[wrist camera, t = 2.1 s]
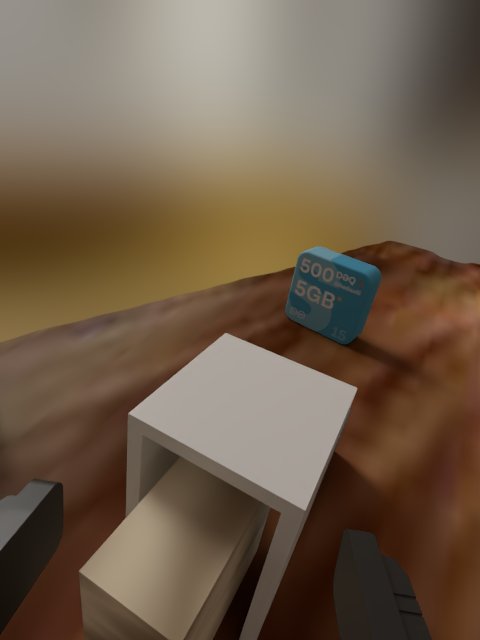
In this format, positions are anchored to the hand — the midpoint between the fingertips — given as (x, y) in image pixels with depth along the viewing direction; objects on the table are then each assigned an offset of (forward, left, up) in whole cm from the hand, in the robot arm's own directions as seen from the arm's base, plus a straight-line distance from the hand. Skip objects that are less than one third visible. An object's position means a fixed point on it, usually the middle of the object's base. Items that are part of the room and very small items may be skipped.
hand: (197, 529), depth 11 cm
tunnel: (+6, +11, -20) cm, 23 cm away
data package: (+29, +43, -20) cm, 56 cm away
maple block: (+2, +7, -20) cm, 21 cm away
